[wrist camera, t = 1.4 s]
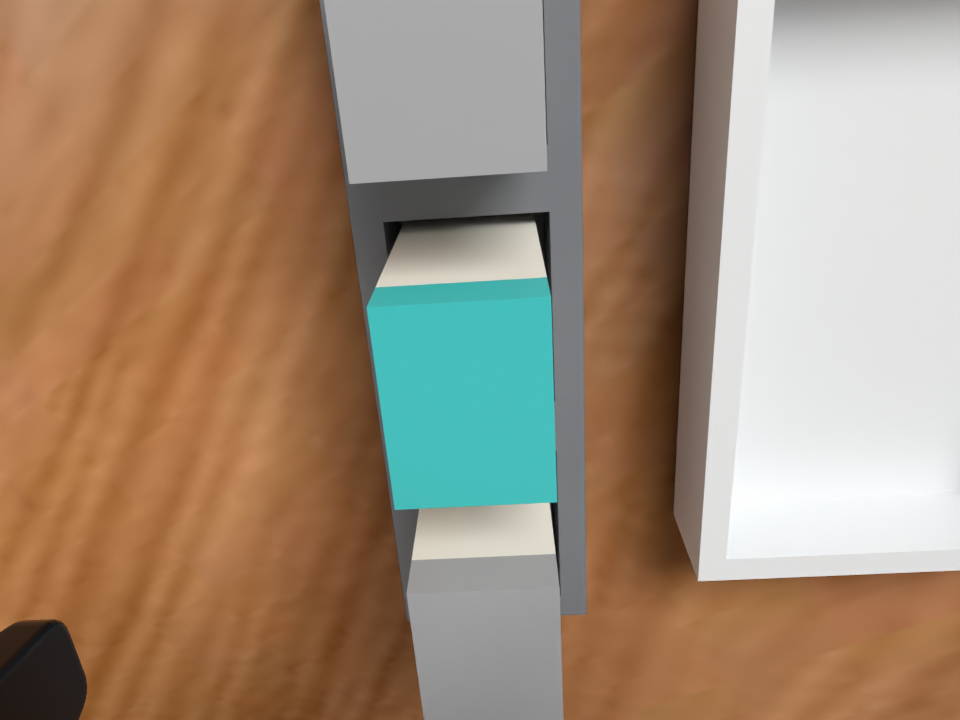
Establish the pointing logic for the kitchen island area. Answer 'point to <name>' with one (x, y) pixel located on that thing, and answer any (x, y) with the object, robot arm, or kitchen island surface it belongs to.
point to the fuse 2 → (486, 613)
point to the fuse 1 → (439, 87)
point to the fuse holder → (561, 244)
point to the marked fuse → (466, 363)
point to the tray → (822, 291)
